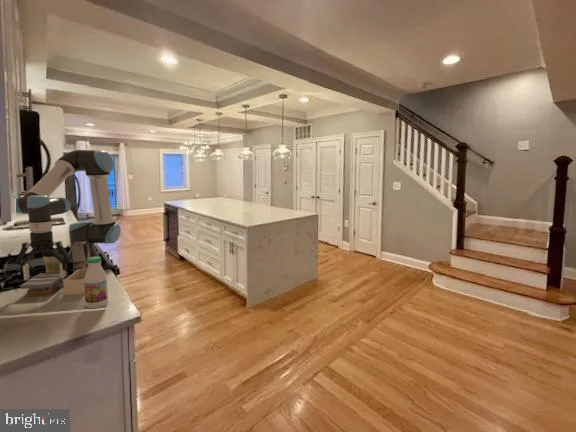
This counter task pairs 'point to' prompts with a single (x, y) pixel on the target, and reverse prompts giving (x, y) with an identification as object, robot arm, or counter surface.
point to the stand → (43, 290)
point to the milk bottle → (95, 284)
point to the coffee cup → (51, 262)
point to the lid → (43, 281)
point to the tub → (75, 283)
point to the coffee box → (80, 255)
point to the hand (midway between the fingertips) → (45, 278)
